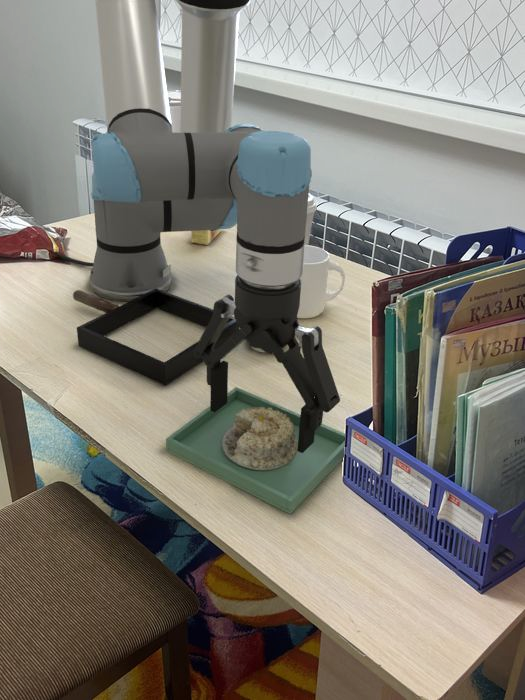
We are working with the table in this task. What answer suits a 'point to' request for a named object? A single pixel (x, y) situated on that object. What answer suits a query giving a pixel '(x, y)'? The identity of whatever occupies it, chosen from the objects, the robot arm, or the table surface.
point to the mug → (316, 281)
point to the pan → (118, 316)
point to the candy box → (203, 236)
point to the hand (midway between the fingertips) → (260, 426)
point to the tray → (270, 485)
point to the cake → (260, 439)
